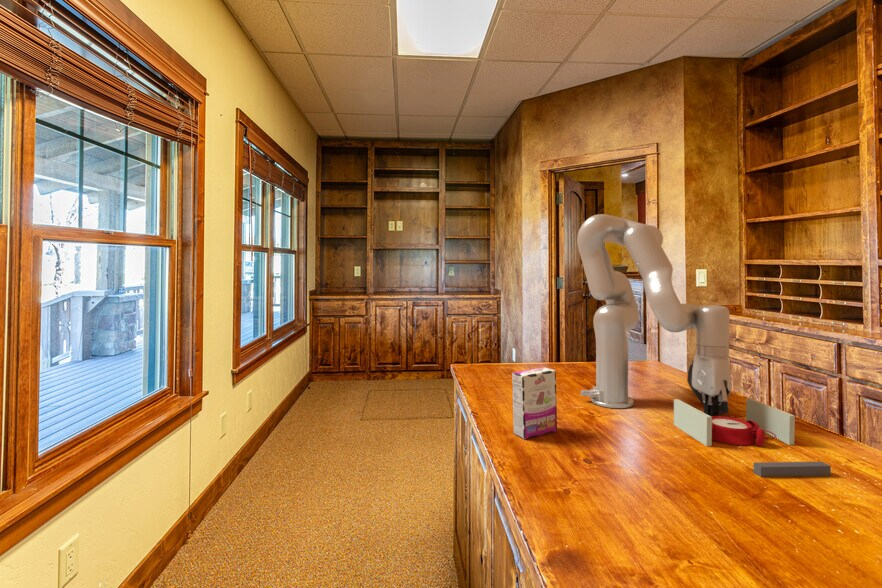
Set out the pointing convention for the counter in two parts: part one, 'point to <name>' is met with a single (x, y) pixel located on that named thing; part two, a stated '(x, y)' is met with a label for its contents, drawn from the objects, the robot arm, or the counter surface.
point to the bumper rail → (791, 469)
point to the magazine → (722, 408)
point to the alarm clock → (737, 431)
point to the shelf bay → (756, 411)
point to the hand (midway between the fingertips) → (711, 418)
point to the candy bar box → (534, 402)
